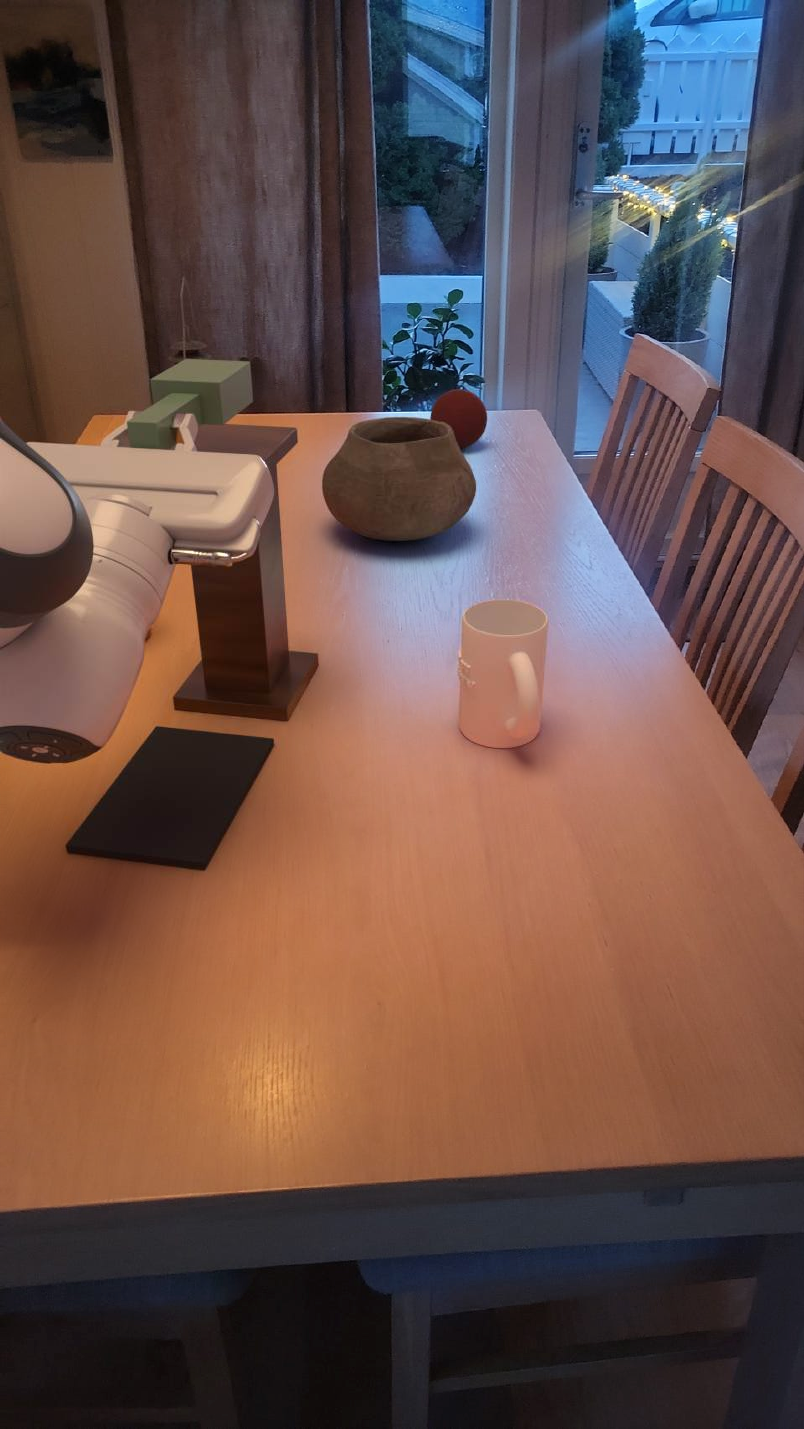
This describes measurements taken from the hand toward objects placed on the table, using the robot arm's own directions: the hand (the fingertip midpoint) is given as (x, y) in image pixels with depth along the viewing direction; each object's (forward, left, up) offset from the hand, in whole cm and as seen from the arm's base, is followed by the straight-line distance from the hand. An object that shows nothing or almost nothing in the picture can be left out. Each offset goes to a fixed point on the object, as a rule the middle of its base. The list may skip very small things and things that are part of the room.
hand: (164, 418), depth 81 cm
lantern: (+36, +81, -32) cm, 94 cm away
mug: (+25, -13, -32) cm, 43 cm away
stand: (+9, +10, -32) cm, 34 cm away
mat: (-5, -5, -32) cm, 32 cm away
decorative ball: (+79, +67, -32) cm, 109 cm away
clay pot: (+47, +38, -32) cm, 68 cm away
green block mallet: (+3, +3, -2) cm, 5 cm away
